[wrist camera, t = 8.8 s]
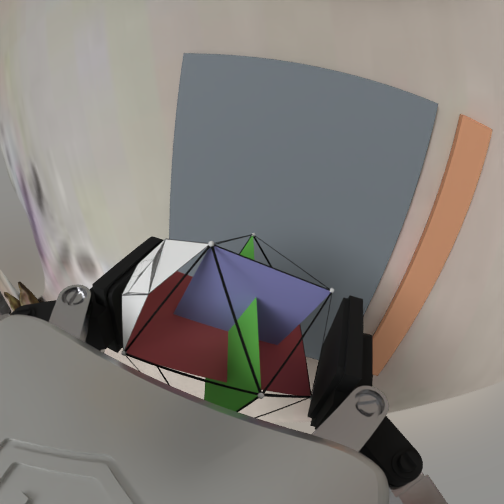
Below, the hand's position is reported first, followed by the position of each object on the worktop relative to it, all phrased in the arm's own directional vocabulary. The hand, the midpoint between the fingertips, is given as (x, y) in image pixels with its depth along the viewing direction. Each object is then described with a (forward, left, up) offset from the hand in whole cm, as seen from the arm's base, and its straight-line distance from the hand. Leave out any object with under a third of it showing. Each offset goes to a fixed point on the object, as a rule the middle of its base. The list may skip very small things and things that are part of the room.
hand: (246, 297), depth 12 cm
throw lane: (-2, 0, -7) cm, 7 cm away
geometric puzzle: (0, 0, -1) cm, 1 cm away
